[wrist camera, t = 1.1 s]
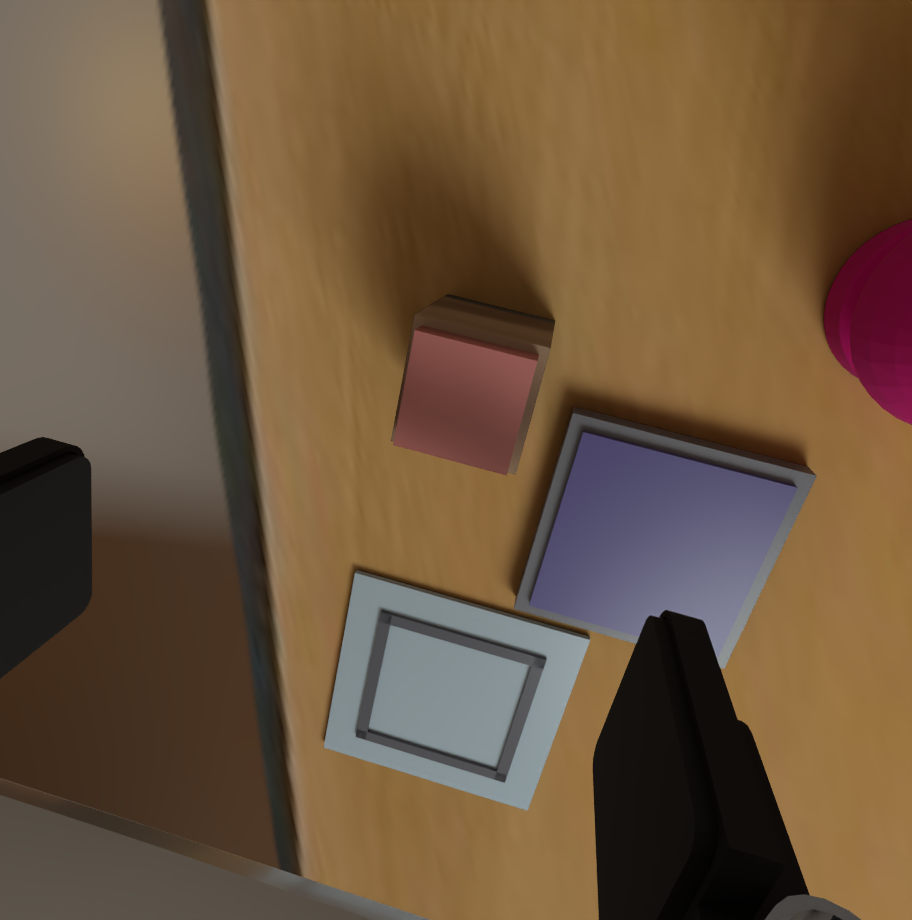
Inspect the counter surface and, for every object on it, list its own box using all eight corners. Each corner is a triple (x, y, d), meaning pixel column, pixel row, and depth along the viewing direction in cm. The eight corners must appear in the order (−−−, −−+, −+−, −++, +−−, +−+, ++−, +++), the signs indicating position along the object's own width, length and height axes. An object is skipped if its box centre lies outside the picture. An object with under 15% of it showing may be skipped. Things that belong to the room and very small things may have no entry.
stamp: (447, 294, 26) (407, 318, 20) (555, 320, 26) (549, 354, 20) (426, 397, 28) (383, 450, 22) (527, 423, 28) (513, 485, 21)
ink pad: (572, 406, 27) (572, 414, 26) (808, 466, 26) (819, 478, 25) (515, 597, 31) (513, 612, 30) (719, 655, 30) (725, 673, 29)
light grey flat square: (356, 569, 32) (353, 574, 31) (589, 636, 31) (590, 642, 31) (325, 743, 37) (322, 750, 36) (527, 806, 36) (527, 813, 35)
